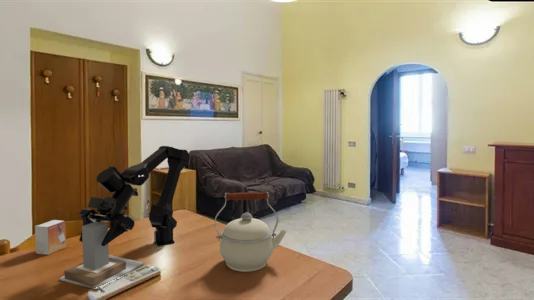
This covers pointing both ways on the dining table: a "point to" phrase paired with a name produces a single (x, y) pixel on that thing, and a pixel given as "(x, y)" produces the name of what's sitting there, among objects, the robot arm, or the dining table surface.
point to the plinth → (128, 269)
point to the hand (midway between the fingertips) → (91, 243)
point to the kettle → (247, 238)
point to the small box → (50, 237)
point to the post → (94, 245)
